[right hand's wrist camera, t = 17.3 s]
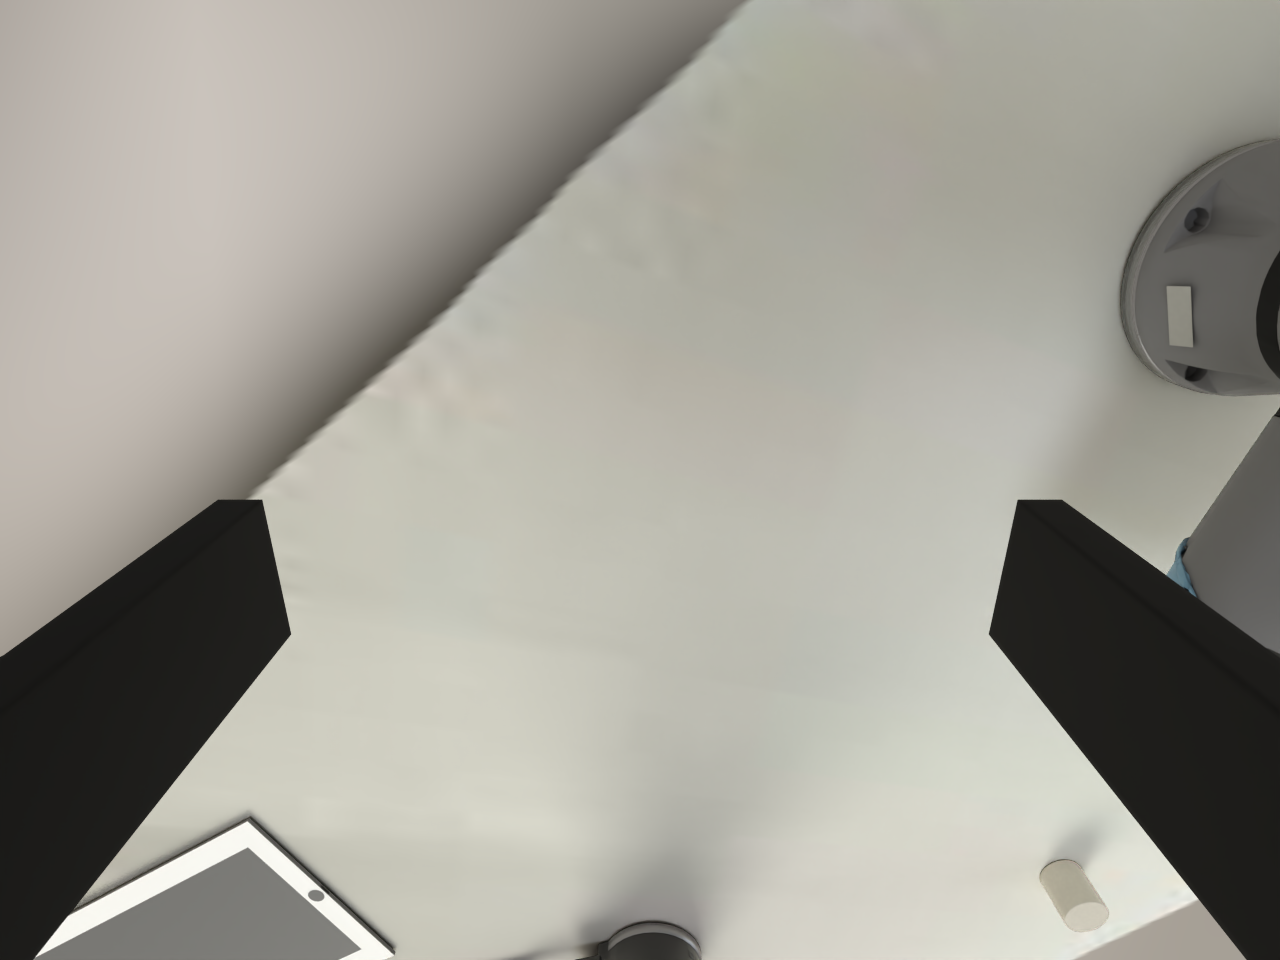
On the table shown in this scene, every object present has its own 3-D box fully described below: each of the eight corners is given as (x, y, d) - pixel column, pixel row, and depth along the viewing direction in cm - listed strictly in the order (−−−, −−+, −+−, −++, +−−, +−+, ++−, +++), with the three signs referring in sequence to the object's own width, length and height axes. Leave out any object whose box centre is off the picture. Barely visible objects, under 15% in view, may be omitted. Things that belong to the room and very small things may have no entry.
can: (1090, 868, 65) (1118, 911, 61) (1062, 894, 66) (1089, 937, 62) (1057, 854, 64) (1084, 896, 60) (1031, 880, 65) (1055, 923, 62)
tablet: (156, 1060, 75) (154, 1064, 75) (0, 947, 68) (-3, 952, 68) (395, 951, 69) (394, 955, 68) (248, 816, 62) (246, 820, 62)
